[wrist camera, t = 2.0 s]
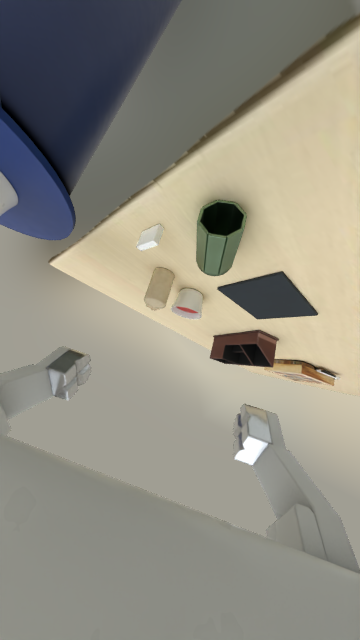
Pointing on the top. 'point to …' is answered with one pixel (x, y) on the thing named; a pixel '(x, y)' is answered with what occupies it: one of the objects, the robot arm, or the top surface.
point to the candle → (159, 289)
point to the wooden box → (301, 372)
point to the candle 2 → (188, 304)
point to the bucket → (219, 236)
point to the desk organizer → (245, 349)
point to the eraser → (150, 237)
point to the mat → (269, 297)
